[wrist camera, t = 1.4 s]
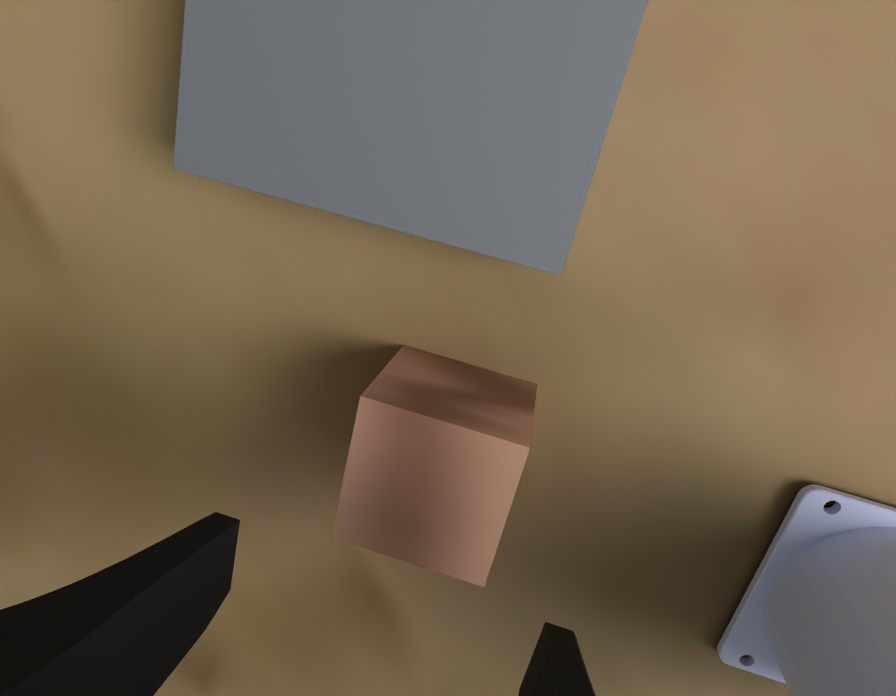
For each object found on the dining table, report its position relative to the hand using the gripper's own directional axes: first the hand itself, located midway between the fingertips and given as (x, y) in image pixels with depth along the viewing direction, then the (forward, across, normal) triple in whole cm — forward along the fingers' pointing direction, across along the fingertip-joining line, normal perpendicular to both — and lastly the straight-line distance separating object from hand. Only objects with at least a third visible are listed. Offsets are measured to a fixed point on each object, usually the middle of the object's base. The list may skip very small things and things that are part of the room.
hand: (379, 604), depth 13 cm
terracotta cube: (+10, 0, 0) cm, 10 cm away
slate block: (+9, +4, -13) cm, 17 cm away
